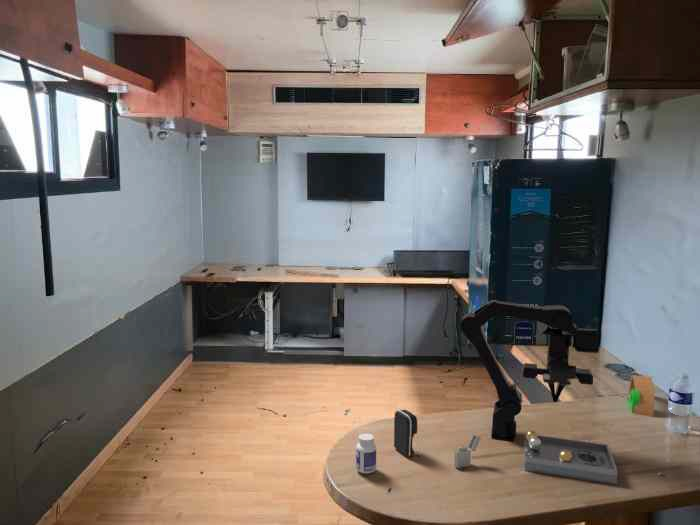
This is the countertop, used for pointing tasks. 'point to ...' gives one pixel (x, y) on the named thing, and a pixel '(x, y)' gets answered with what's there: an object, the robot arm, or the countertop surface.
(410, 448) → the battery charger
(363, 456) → the pill bottle
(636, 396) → the mechanical part
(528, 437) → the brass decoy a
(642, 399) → the arch
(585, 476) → the tray
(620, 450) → the countertop surface
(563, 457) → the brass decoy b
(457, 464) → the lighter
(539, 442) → the steel ball
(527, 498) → the countertop surface
